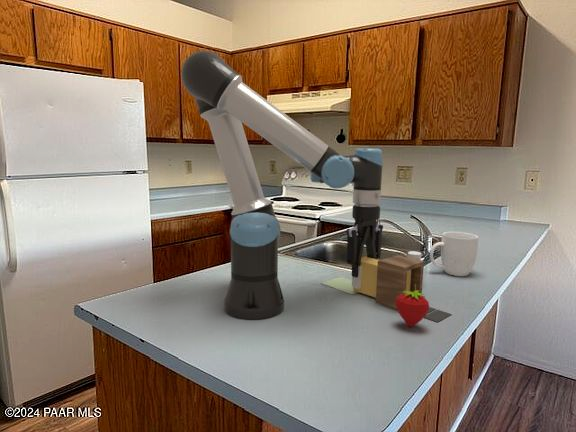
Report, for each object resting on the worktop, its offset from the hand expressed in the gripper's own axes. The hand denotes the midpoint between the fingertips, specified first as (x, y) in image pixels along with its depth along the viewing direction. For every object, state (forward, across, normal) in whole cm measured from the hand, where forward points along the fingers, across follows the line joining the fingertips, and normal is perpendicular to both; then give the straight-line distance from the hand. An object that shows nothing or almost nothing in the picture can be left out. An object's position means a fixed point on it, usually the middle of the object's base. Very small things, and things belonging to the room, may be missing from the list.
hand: (362, 285), depth 114 cm
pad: (+2, 0, +6) cm, 6 cm away
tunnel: (+2, 0, -12) cm, 12 cm away
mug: (+2, +37, -9) cm, 38 cm away
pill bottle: (+2, +17, -6) cm, 18 cm away
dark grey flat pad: (+2, 0, -21) cm, 21 cm away
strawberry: (+2, -10, -22) cm, 24 cm away
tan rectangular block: (+1, 0, -6) cm, 6 cm away
